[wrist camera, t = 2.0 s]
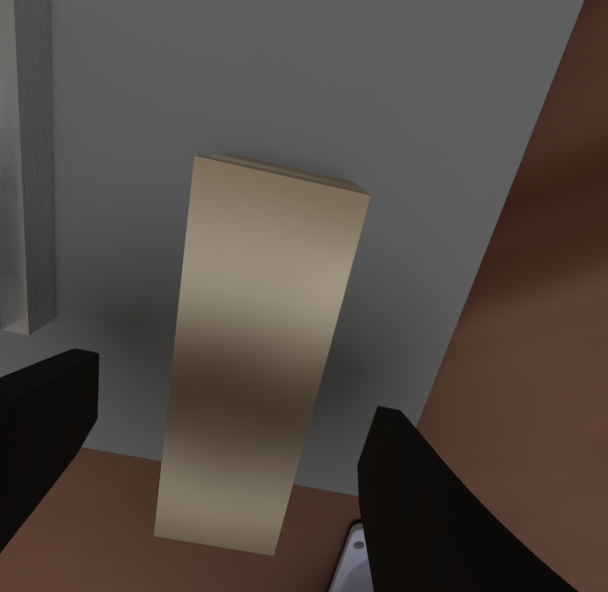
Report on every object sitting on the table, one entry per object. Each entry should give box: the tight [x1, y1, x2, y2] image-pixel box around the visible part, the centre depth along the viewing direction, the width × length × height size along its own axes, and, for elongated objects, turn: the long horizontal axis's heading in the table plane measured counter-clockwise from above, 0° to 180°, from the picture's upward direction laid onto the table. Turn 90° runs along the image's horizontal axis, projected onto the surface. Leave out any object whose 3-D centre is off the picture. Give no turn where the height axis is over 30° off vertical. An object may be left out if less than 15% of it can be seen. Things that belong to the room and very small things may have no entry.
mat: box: [0, 0, 584, 496], centre depth 13 cm, size 22×24×1 cm
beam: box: [154, 154, 371, 556], centre depth 13 cm, size 12×4×4 cm, turn 168°
